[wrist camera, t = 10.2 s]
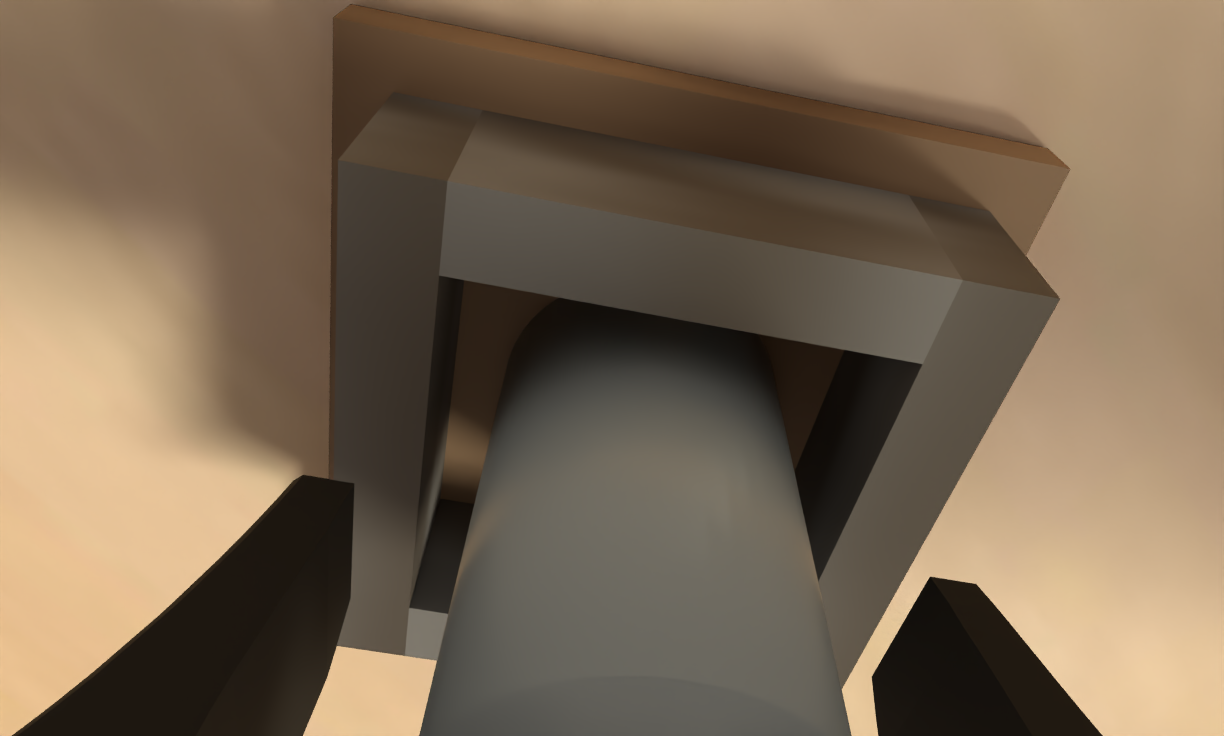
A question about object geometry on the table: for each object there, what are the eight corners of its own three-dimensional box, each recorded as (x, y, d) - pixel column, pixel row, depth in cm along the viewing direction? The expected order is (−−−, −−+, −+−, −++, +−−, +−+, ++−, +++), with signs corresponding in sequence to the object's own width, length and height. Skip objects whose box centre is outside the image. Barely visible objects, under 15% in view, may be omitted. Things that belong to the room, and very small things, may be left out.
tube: (491, 472, 15) (396, 896, 9) (522, 252, 13) (421, 640, 7) (734, 511, 16) (786, 943, 10) (809, 304, 13) (940, 717, 7)
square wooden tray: (340, 527, 17) (282, 667, 14) (350, 4, 12) (261, 72, 9) (822, 604, 18) (854, 750, 15) (1047, 148, 12) (1161, 250, 10)
